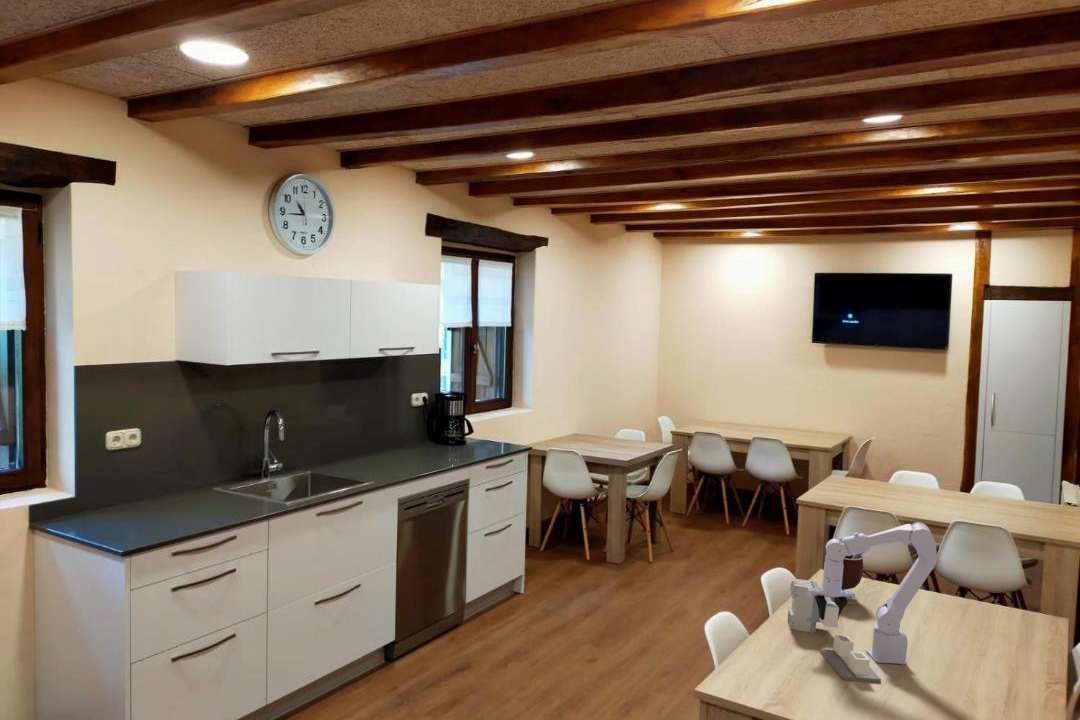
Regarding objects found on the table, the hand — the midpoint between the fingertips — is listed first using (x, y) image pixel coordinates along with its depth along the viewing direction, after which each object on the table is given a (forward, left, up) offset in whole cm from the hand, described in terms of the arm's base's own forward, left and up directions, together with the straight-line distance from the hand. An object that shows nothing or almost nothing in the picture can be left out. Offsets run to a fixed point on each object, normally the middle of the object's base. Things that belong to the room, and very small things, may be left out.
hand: (828, 618), depth 248 cm
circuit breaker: (0, -14, -9) cm, 17 cm away
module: (0, 0, -2) cm, 2 cm away
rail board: (-2, +14, -9) cm, 17 cm away
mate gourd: (-23, -45, -9) cm, 51 cm away
